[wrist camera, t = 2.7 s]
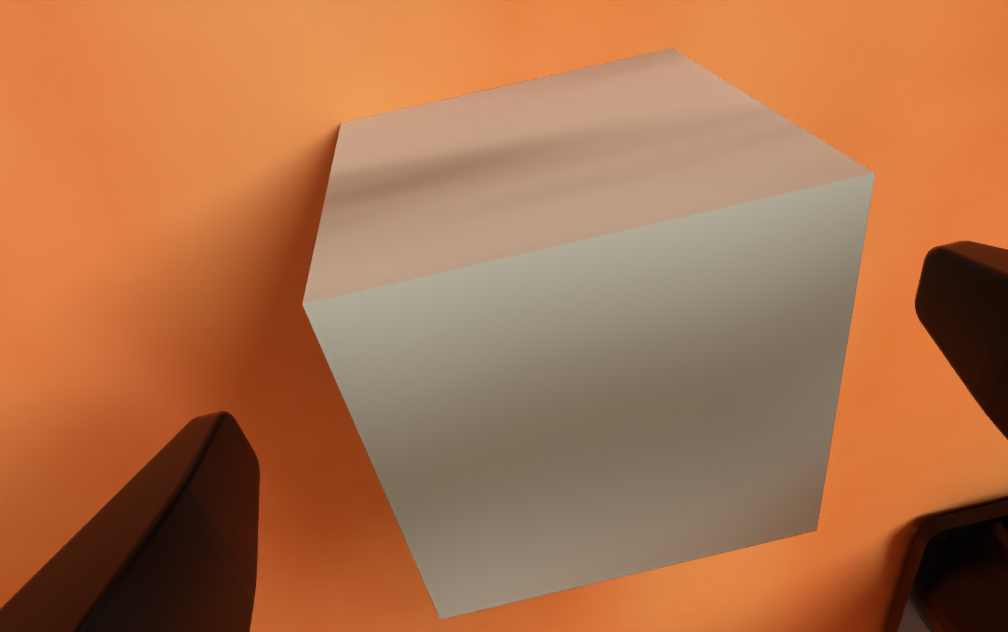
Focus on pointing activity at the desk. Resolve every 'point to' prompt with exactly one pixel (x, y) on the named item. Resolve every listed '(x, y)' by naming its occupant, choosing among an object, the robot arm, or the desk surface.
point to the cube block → (588, 322)
